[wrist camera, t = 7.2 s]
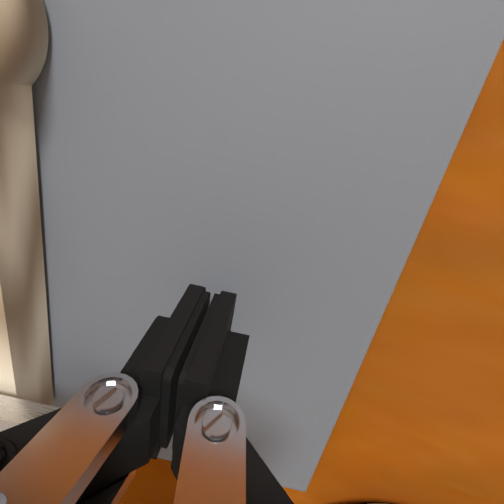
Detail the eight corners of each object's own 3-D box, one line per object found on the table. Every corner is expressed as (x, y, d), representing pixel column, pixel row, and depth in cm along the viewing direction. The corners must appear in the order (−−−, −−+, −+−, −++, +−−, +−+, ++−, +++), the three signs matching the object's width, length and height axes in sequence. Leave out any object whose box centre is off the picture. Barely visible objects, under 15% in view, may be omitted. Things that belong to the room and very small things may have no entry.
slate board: (510, -24, 8) (537, -40, 7) (304, 472, 18) (305, 491, 17) (-221, -150, 9) (-279, -178, 8) (-35, 395, 19) (-51, 410, 18)
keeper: (142, 350, 15) (86, 442, 11) (141, 392, 17) (91, 489, 13) (-56, 307, 16) (-180, 381, 12) (-41, 352, 17) (-148, 433, 13)
